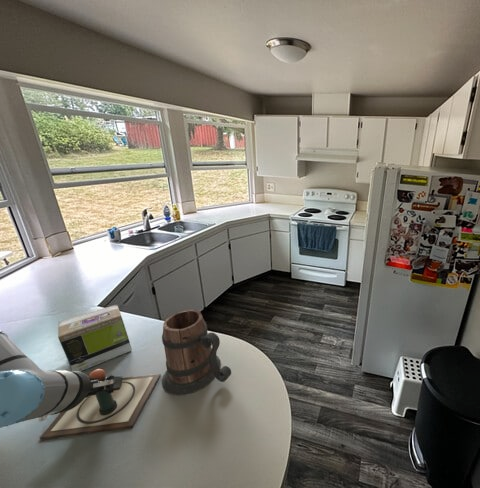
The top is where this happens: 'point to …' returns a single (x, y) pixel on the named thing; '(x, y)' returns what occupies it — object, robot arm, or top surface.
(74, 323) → the tea box
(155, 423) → the top surface
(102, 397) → the dot stamp
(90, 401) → the sketch board
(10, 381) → the robot arm
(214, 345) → the tankard
